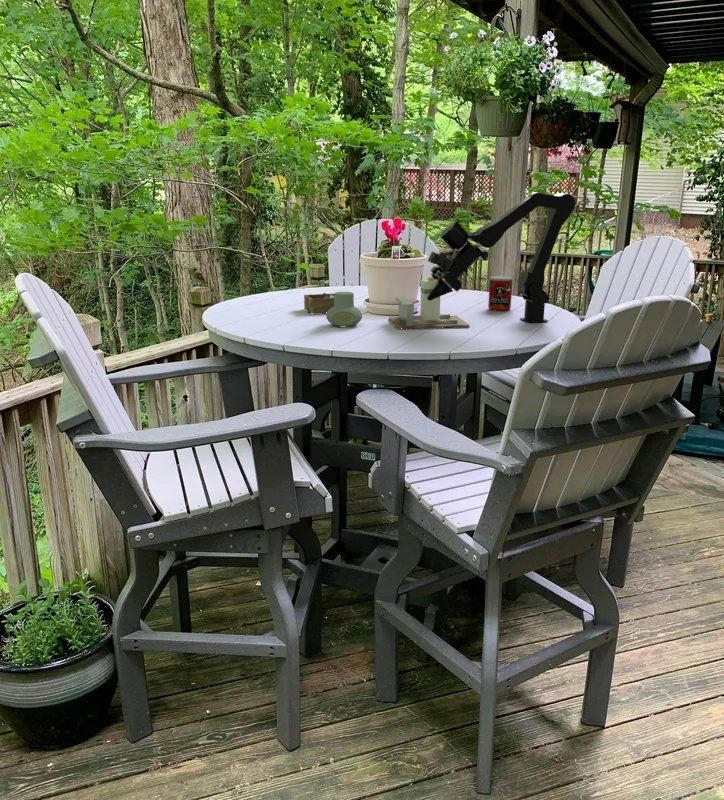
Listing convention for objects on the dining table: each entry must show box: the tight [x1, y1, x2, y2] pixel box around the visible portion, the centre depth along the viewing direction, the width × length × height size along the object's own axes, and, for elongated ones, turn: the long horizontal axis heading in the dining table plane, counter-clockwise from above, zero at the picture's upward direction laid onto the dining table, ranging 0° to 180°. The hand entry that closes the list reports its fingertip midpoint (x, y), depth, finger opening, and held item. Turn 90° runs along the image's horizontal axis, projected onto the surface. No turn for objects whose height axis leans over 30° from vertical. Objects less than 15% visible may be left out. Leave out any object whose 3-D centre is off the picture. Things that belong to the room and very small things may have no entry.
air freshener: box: [325, 291, 363, 327], centre depth 210 cm, size 11×8×10 cm
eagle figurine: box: [317, 292, 334, 298], centre depth 235 cm, size 8×7×9 cm
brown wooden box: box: [303, 293, 335, 314], centre depth 235 cm, size 10×13×5 cm
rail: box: [394, 296, 415, 326], centre depth 211 cm, size 3×15×7 cm, turn 7°
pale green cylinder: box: [419, 276, 441, 320], centre depth 211 cm, size 5×5×13 cm
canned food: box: [488, 275, 513, 312], centre depth 237 cm, size 8×8×11 cm
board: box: [388, 313, 471, 330], centre depth 213 cm, size 22×16×2 cm
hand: (426, 298), depth 211 cm, fingers closed on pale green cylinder, 5 cm apart
